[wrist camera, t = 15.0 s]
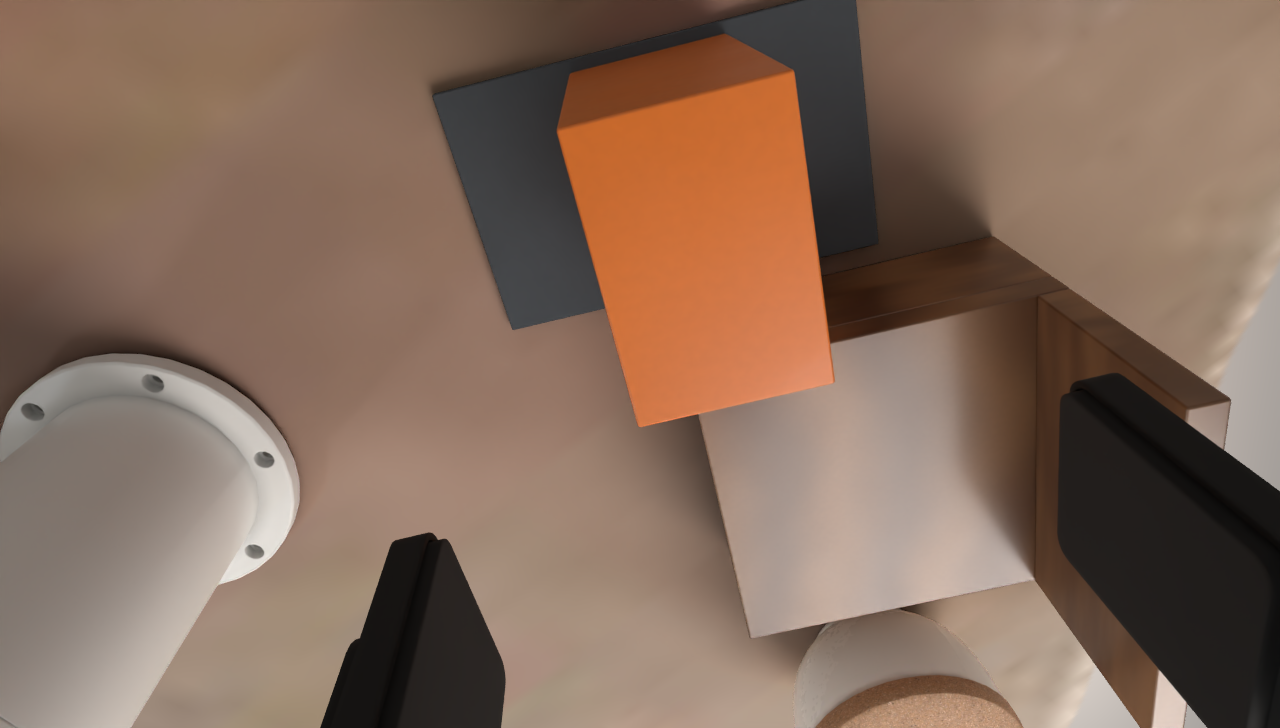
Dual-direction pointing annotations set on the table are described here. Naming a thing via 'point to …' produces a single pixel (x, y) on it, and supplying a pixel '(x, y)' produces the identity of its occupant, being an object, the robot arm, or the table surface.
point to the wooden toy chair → (936, 453)
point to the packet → (699, 225)
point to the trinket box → (895, 678)
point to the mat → (539, 182)
